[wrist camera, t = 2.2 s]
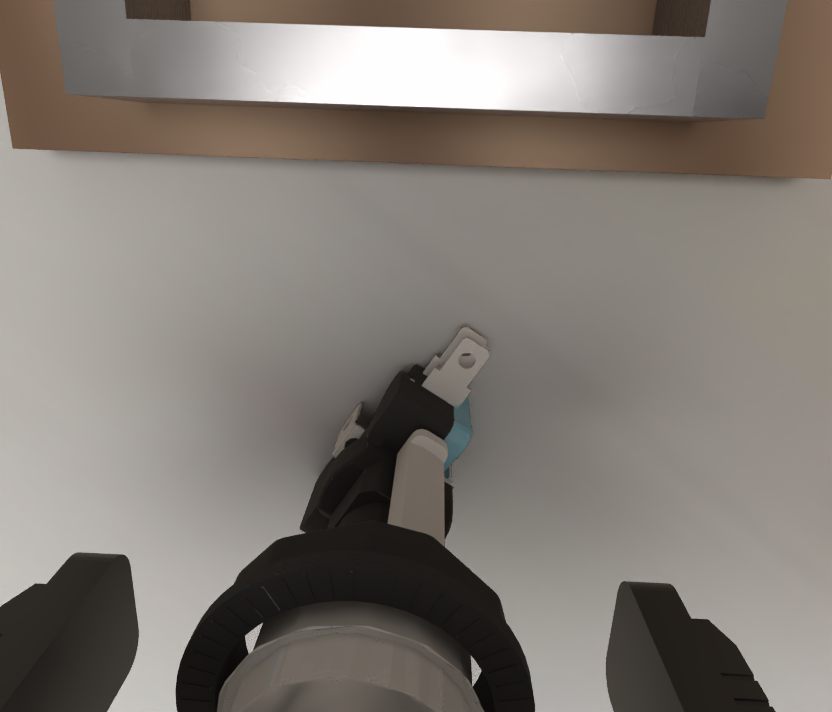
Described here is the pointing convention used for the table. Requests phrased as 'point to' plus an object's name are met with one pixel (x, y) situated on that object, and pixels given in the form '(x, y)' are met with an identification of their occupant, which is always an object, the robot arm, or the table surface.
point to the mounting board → (432, 132)
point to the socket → (428, 63)
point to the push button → (369, 580)
